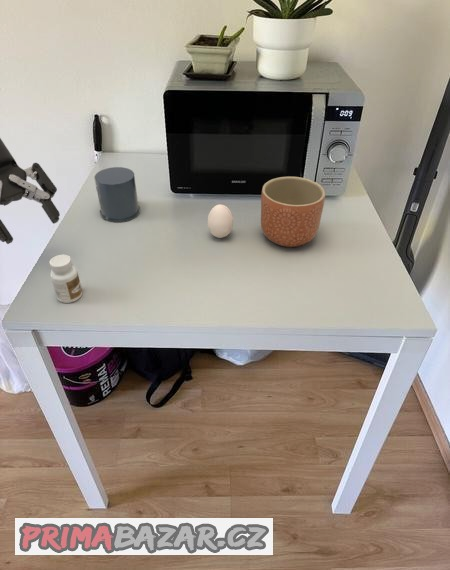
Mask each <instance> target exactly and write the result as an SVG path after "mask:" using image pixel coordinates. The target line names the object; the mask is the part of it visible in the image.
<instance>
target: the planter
mask: <svg viewBox="0 0 450 570" xmlns="http://www.w3.org/2000/svg"><path fill="white" fill-rule="evenodd" d="M325 200H326V191H325V189H324V187H323V186H322V185H320V184H319V183H318V182H316V181H314V180H311V179H308V178H305V177H299V176H280V177H276V178H272V179H270V180H268V181H267V182H265V183H264V184H263V185H262V189H261V197H260V224H261V226H260V227H261V230H262V233H263V234H264V236H265V237H266V238H267V239H268V240H269V241H270V242H272V243H274V244H275V245H278V246H281V247H286V248H296V247H300V246H304V245H306V244H308V243H310V242H311V241H312V240H313V239H314V238H315V236H317V233H318V231H319V228H320V224H321V219H322V215H323V211H324V205H325Z"/></svg>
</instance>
